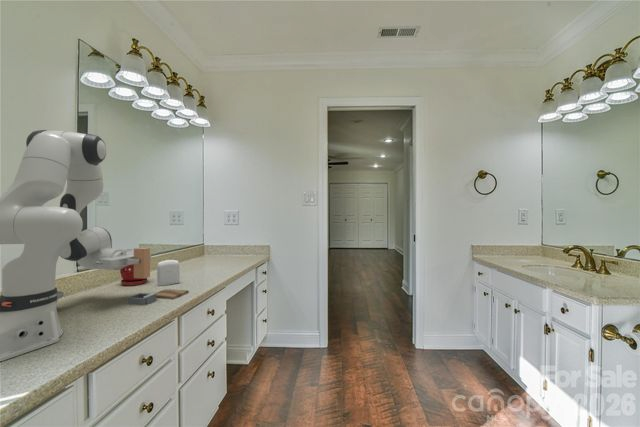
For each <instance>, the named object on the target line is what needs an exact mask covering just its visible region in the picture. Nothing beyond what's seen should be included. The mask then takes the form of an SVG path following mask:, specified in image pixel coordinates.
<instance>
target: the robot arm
mask: <svg viewBox="0 0 640 427" xmlns="http://www.w3.org/2000/svg"><path fill="white" fill-rule="evenodd" d="M25 143H26V144H25V145H26V148H25V151H24V152H23V155H22V158H21V161H20V164H19V167H18V169H17V172H16V175H15V177H14V180H13V182H12V184H10V186H9V188H8V189H6V191H5V192H4V193H3V194H2V195H1V196H0V245H24V246H23V250H22V253H21V254H20V255H19V256H17V257H15V258H14V259H12V260H10V261H8V262H7V263H6V264H5V265H4V266H3V267H2V269H1V295H0V362H3V361H6V360H10V359H12V358H15V357H18V356H21V355H24V354H26V353H29V352H32V351H35V350H39V349H41V348H43V347H47V346H49V345H52V344H56V343H58V342H59V341H60V337H62V335H63V334H64V331H63V329H62V326H61V323H60V320H59V314H58V308H57V302H58V299H57V291H58V288H57V287H56V270H57V263H58V259H59V256H60V258H62V259H64V260H66V261H70V262H76V263H77V264H78V265H79V266H80V267H82V268H84V269H89V270H106V271H120V269H122V268H124V267H126V266H129V265H132V264H139V263H141V259H134V249H123V248H113V243H112V242H113V239H112V236H111V234H110V232H109V231H108V230H107V229H106V228H104V227H101V226H96V225H95V226H94V227H90V228H87V229H84V230H83V226H84V225H83V222H84V221H83V218H82V217H81V215H80V214H81V212H83V211H84V210H83V209H85V208H86V207H87V206H89V204H91V203H92V202H94V201H95V200H97V199H98V198H99V197H100V196H101V194H102V193H103V190H104V178H103V173H102V168H101V165H100V164H101V163H102V162H103V161H104V160H105V159H106V156H107V147H106V143H105V140H104V139H102V138H101V137H100V136H99V135H95V134H92V133H82V132H81V133H80V132H76V131H67V130H48V129H47V130H46V129H42V130H41V129H38V130H34V131H32V132H31V133H29V135H28V136H27V137H26V142H25ZM65 186H66V188H65ZM64 190H65V192H64ZM63 193H64V194H63ZM62 194H63V195H62ZM61 195H62V197H61V198H60V203H59V206H56V205H53V206H52V205H51V206H50V205H45V204H46V203H48V202H49V201H51V200H55V199H56V198H58V197H60V196H61ZM151 261H152V253H151V252H150V262H151Z"/></svg>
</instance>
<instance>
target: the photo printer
mask: <svg viewBox="0 0 640 427" xmlns="http://www.w3.org/2000/svg"><path fill="white" fill-rule="evenodd" d="M156 275H157V277H156V281H157V282H156V283H157V284H156V285H157V286H158V287H162V286H167V285H168V286H169V285H174V284H179V283H180V281H181V280H180V278H181V277H180V276H181V275H180V263H179V260H176V259H166V260H162V261H159V262H157V265H156Z"/></svg>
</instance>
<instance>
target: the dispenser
mask: <svg viewBox="0 0 640 427" xmlns="http://www.w3.org/2000/svg"><path fill="white" fill-rule="evenodd" d="M157 292H158V291H156V292H153V293H142V292H141V293H136V294H134V295H131V296H127V305H137V306H146V305H149V304H152V303H154V302H157V300H158V298H156V294H157Z"/></svg>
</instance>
